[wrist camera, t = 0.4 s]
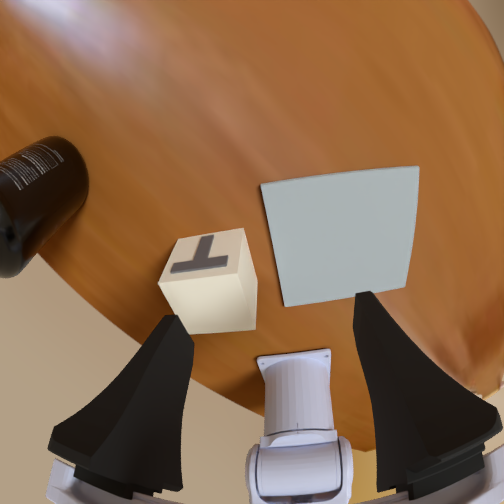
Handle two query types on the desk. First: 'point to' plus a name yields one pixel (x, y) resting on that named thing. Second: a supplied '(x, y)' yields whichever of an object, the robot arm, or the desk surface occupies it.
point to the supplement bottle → (37, 198)
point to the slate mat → (342, 232)
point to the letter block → (212, 283)
